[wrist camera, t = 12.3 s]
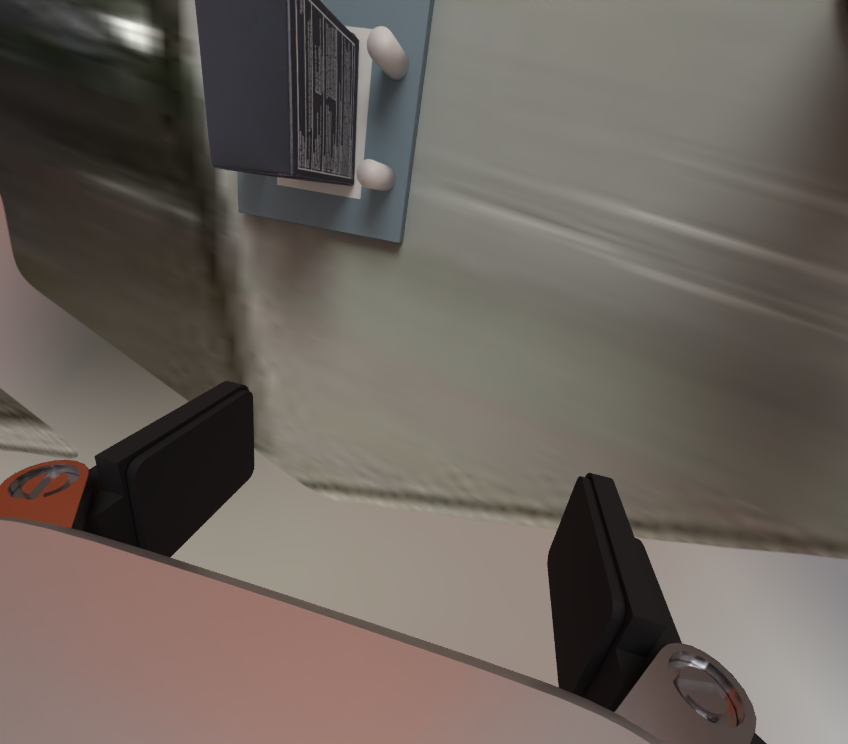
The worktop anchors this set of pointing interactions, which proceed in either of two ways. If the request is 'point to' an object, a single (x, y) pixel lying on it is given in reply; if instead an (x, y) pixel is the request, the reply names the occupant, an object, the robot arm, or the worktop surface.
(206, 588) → the robot arm
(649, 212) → the worktop surface
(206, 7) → the small box
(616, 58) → the worktop surface
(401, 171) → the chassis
